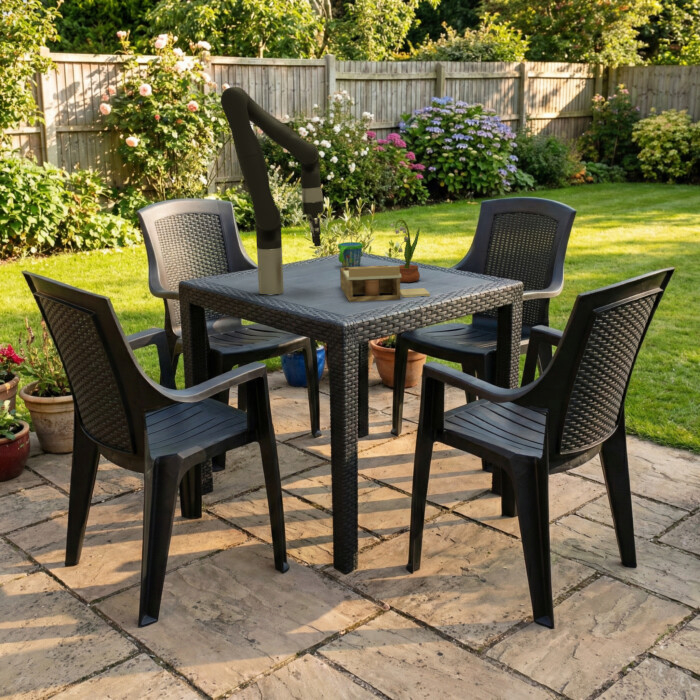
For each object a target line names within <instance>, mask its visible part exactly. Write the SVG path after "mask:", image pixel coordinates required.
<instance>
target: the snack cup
mask: <svg viewBox="0 0 700 700" xmlns="http://www.w3.org/2000/svg"><path fill="white" fill-rule="evenodd" d="M337 247H338V250H339V254H338V261H339V262H340V263H341V265H342V267H361V259H362V258H363V247H364V243H362V242H355V241H347V242H340V243H338V244H337ZM342 267H341V268H342Z"/></svg>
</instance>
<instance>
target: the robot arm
mask: <svg viewBox="0 0 700 700" xmlns="http://www.w3.org/2000/svg"><path fill="white" fill-rule="evenodd" d="M220 105H221V109H222V111H223V113H224V115H225V117H226V120H227V123H228V125H229V128H230V131H231V137H232V141H233V146H234V148H235V153H236V156H237V161H238V164H239V167H240V171H241V174H242V176H243V178H244V179H243V180H244V182H245V184H246V187H247V189H248V192H249V195H250V197H251V198H250V199H251V202H252V207H253V213H254V220H255V229H256V230H255V234H256V242H255V243H256V257H257V280H258V283H257V284H258V294H259V293H260V294H279V295H282V294H281V293H283V292H285V290H284V289H285V287H284V272H283V271H284V268H283V244H282V240H283V239H282V238H283V237H282V219H281V217H282V216H281V211H280V208H279V207H277V205H276V202H275V199H274V197H273V194H272V191H271V186H270V179H269V172H268V167H267V163H266V160H265V155H264V153H263V148H262V146H261V143H260V142H259V140H258V139H259V138H257V136H256V134H255V131H254V129H253V126H252V124H254V125H255V126H256V127H257V128H258V129H259V130H261V131H262V132H263V133H264V134H265V135H266V136H267V137H268V138H269V139H271V141H273V142H274V143H276V144H277V145H279V146H280V147H281V148H283V149H285V150H286V151H287V152H288V153H290V155H292V156H293V157H294V158H295V159H297V161H299V162H300V169H301V171H300V172H301V173H300V183H301V201H302V202H301V203H302V211H303V214H304V215H308V217H309V218H308V224H309V229H310V233H311V239H312V240H311V241H312V243H313V244H314V246H315V247H321V245H322V243H321V242H322V241H321V234H322V232H321V229H322V227H321V218H320V217H319V215H318V214H323V213H324V211H325V209H324V208H325V207H324V199H323V198H324V197H323V190H322V185H321V184H322V183H321V182H322V181H321V174H320V155H319V154H320V153H319V150H318V148H317V146H316V145H315V144H313V143H309V142H307V141H306V140H305V139H303V138H302V137H300V136H299V135H298V134H297V132H296V131H295V130H293V129H292V128H291V127H289V126H287V125H286V124H285V123H283V122H282V121H280V119H278V118H276V117H275V116H273V115H272V114H271V113H269V112H267V111H266V110H265V109H264V108H263V107H261V106H260V105H259V104H258V103H257V102H256V101H255V100H254V99H253V98H252V97H251V96H250V95H249V94H248V93H247V92H246V90H244V88H241V87H239V86H230V87H228V88H226V89H224V90H223V92H222V94H221V96H220ZM251 123H252V124H251ZM283 294H284V293H283Z"/></svg>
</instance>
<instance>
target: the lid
mask: <svg viewBox="0 0 700 700" xmlns="http://www.w3.org/2000/svg"><path fill="white" fill-rule="evenodd" d="M385 266H386V267H365V266H362V267H363V268H349V271H343V274H344V275H345V277H346V278H347V280H363V279H385V278H401V274H400V267H399V265H390V266H389V265H385Z"/></svg>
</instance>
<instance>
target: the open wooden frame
mask: <svg viewBox="0 0 700 700" xmlns="http://www.w3.org/2000/svg"><path fill="white" fill-rule="evenodd" d="M386 266H387V265H371V266H370V265H367V266H359V267H340V268H339V269H340V270H339V273H340V274H339V275H340V276H339V278H340V279H339V280H340V288H341V290H342V292H343V294H344V295H345V296H346V298H347V300H348V302H349V303H352V302H354V303H355V301H356V302H370V301H371V302H373V301H393V300H394V301H395V300H396V301H397V300H401V295H400V289H401V282H400V278H385V279H380V282H379V296H365V282H364V279H363V280H347V278H346V277H345V275H344V274H343V271H349V268H363V267H386ZM380 294H381V295H380ZM382 294H383V295H382ZM353 295H361V296H353Z"/></svg>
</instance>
